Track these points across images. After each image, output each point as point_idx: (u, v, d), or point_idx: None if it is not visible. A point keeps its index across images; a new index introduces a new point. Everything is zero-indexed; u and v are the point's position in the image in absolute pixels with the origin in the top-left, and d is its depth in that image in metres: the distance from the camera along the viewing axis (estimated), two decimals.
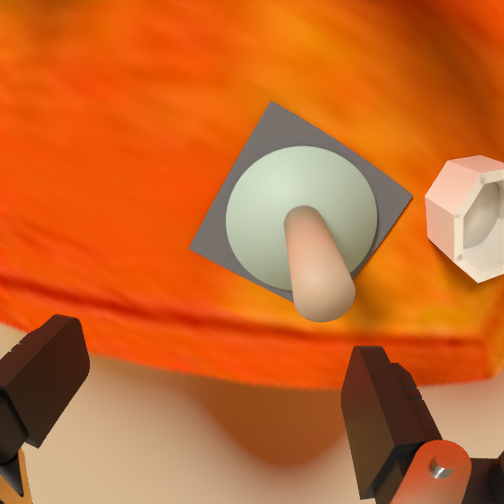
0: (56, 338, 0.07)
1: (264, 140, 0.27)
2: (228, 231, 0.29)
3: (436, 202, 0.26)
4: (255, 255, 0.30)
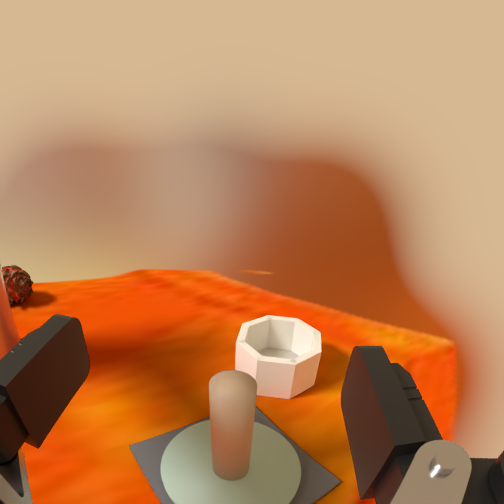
0: (56, 338, 0.07)
1: (151, 463, 0.26)
2: None
3: None
4: None
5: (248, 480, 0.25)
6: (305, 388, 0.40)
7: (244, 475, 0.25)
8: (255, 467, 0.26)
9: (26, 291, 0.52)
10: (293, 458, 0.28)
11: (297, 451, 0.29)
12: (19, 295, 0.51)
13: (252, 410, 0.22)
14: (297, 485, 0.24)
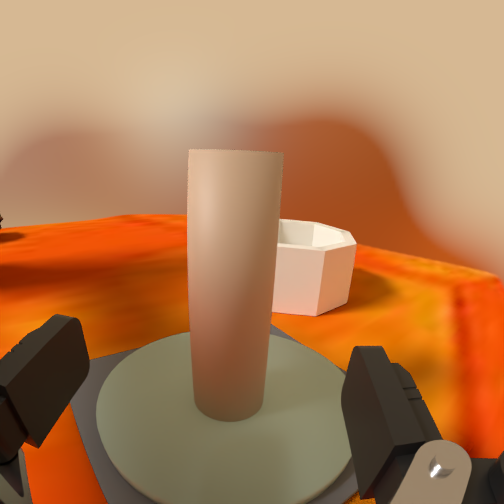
0: (56, 338, 0.07)
1: (88, 394, 0.15)
2: (168, 497, 0.09)
3: None
4: (250, 479, 0.10)
5: (263, 421, 0.14)
6: (336, 304, 0.29)
7: (255, 411, 0.14)
8: (275, 398, 0.16)
9: None
10: (341, 382, 0.17)
11: None
12: None
13: (275, 201, 0.11)
14: None
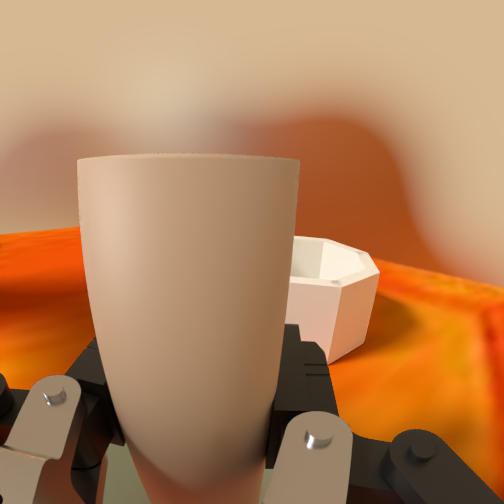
0: None
1: None
2: None
3: None
4: None
5: None
6: (351, 347, 0.22)
7: None
8: None
9: None
10: None
11: None
12: None
13: (279, 284, 0.05)
14: None
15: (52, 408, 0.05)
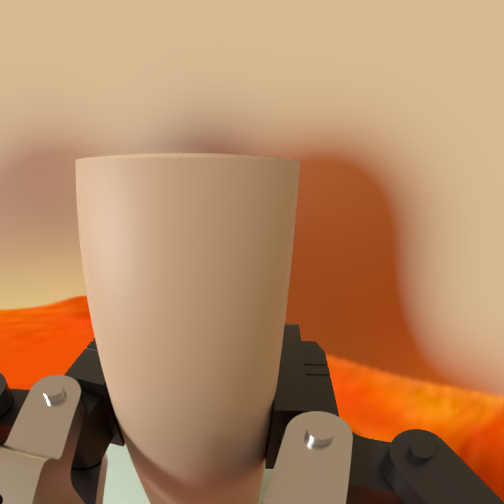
0: None
1: None
2: None
3: None
4: None
5: None
6: None
7: None
8: None
9: None
10: None
11: None
12: None
13: (279, 285, 0.05)
14: None
15: (52, 408, 0.05)
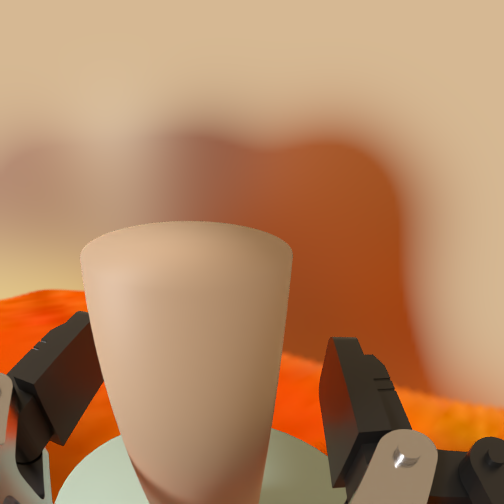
0: (81, 335, 0.07)
1: None
2: None
3: None
4: None
5: None
6: None
7: None
8: None
9: None
10: None
11: None
12: None
13: (271, 368, 0.05)
14: None
15: None
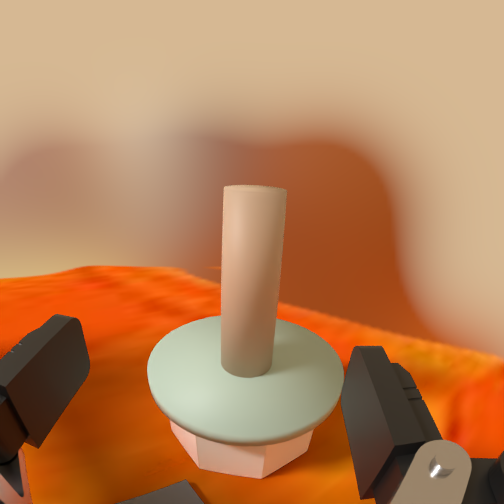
0: (56, 338, 0.07)
1: None
2: (207, 427, 0.16)
3: (196, 449, 0.19)
4: (264, 414, 0.17)
5: (272, 377, 0.20)
6: (291, 458, 0.20)
7: (266, 370, 0.21)
8: (280, 362, 0.22)
9: None
10: (330, 352, 0.23)
11: None
12: None
13: (281, 223, 0.18)
14: (341, 382, 0.20)
15: None
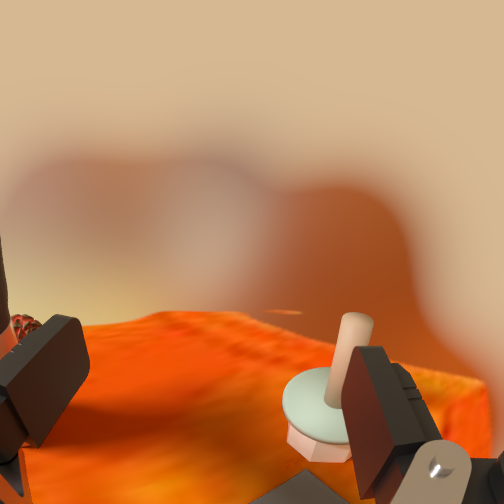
0: (56, 338, 0.07)
1: None
2: (331, 438, 0.30)
3: (312, 450, 0.33)
4: None
5: None
6: None
7: None
8: None
9: None
10: None
11: None
12: None
13: None
14: None
15: None
